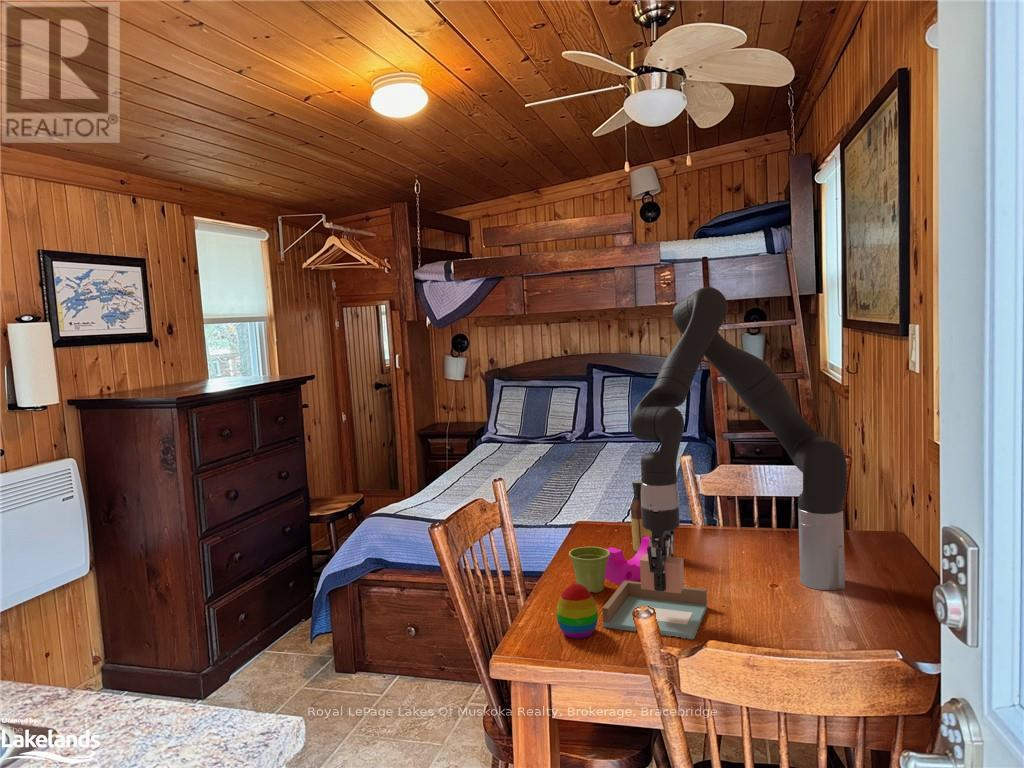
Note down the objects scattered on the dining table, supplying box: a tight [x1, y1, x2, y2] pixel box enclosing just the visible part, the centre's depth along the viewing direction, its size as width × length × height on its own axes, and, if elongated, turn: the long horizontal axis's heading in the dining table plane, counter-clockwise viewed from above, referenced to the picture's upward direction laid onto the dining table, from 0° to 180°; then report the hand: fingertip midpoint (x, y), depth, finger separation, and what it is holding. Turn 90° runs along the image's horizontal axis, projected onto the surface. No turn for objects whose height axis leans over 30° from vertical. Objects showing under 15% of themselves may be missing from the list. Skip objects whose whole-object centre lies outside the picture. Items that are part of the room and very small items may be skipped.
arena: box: [601, 580, 708, 640], centre depth 141 cm, size 18×16×4 cm
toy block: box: [605, 536, 650, 586], centre depth 166 cm, size 15×6×8 cm, turn 125°
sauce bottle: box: [630, 479, 652, 556], centre depth 180 cm, size 6×6×20 cm
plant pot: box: [568, 546, 610, 594], centre depth 158 cm, size 9×9×9 cm
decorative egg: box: [556, 582, 599, 640], centre depth 135 cm, size 8×8×10 cm
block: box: [640, 554, 685, 593], centre depth 139 cm, size 4×8×6 cm, turn 65°
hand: (662, 585), depth 139 cm, fingers closed on block, 4 cm apart
